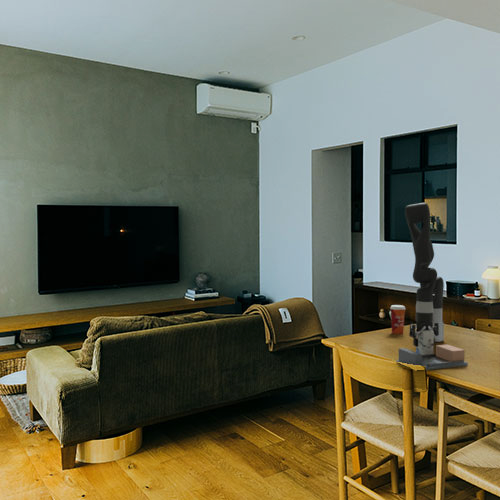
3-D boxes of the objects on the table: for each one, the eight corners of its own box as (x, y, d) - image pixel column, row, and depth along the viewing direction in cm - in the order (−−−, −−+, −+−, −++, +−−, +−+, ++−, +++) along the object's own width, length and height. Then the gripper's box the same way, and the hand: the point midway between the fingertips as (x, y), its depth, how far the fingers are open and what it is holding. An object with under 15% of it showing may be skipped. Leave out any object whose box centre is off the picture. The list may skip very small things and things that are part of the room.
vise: (445, 357, 233) (445, 343, 233) (467, 365, 220) (468, 350, 219) (396, 362, 225) (396, 348, 225) (416, 371, 212) (416, 355, 211)
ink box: (415, 352, 242) (416, 327, 241) (426, 352, 242) (426, 327, 242) (423, 357, 233) (423, 331, 233) (434, 357, 234) (434, 331, 233)
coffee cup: (397, 335, 280) (397, 307, 279) (386, 332, 287) (386, 305, 286) (408, 333, 284) (409, 306, 283) (398, 330, 291) (398, 304, 290)
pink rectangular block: (447, 354, 231) (447, 344, 231) (464, 361, 221) (464, 350, 221) (435, 356, 229) (436, 345, 229) (452, 362, 219) (452, 351, 219)
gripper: (432, 308, 243) (431, 342, 243) (406, 310, 238) (405, 345, 239) (442, 311, 235) (442, 346, 236) (416, 313, 231) (415, 348, 232)
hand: (424, 345), depth 238 cm, fingers open, 8 cm apart
